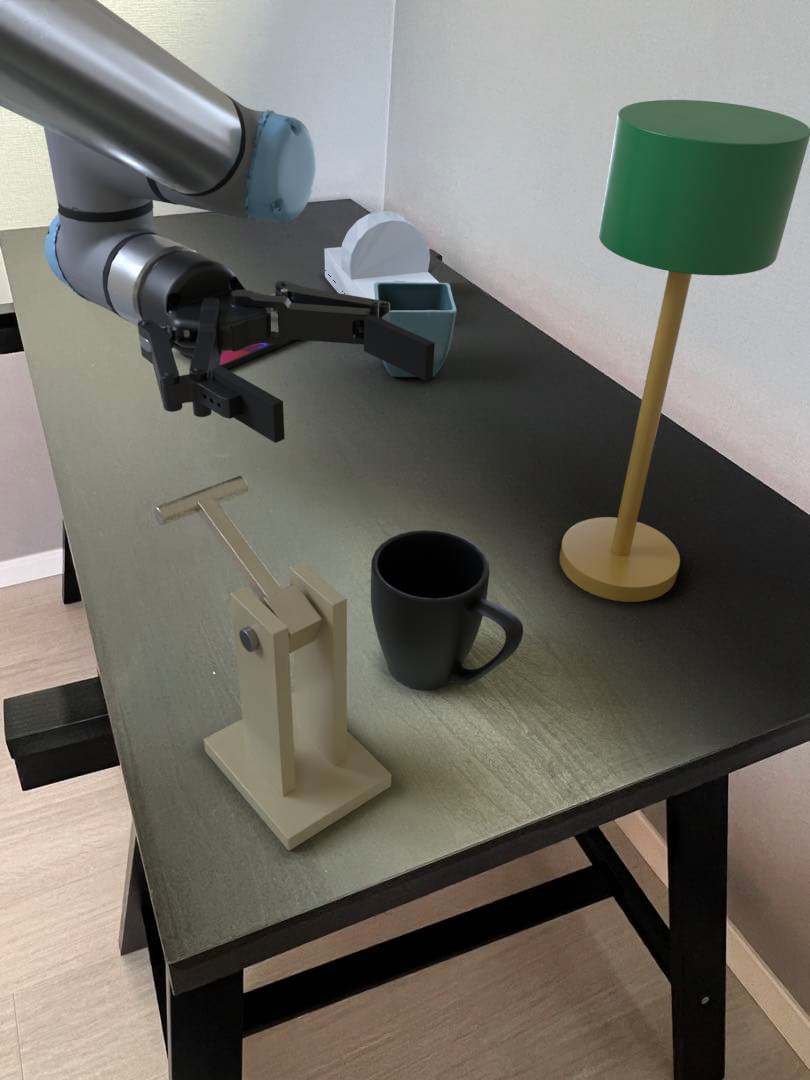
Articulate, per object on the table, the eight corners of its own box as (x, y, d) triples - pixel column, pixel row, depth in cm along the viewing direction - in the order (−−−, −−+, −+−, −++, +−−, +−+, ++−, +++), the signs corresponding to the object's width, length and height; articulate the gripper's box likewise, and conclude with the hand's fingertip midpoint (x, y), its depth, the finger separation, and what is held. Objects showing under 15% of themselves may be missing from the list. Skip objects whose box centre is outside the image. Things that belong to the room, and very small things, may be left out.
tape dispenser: (450, 323, 122) (456, 237, 115) (369, 333, 119) (370, 245, 112) (397, 269, 137) (399, 190, 130) (323, 276, 133) (322, 195, 127)
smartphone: (175, 346, 111) (269, 310, 121) (176, 353, 112) (269, 316, 121) (218, 367, 107) (312, 327, 117) (219, 374, 108) (312, 334, 117)
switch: (152, 521, 58) (153, 496, 56) (236, 489, 61) (240, 465, 59) (255, 670, 54) (261, 648, 52) (341, 628, 57) (349, 605, 55)
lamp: (526, 580, 80) (592, 124, 58) (575, 511, 88) (648, 92, 67) (666, 628, 75) (792, 154, 54) (703, 550, 84) (825, 116, 63)
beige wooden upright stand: (204, 751, 63) (182, 578, 55) (303, 698, 68) (296, 530, 59) (288, 851, 57) (278, 675, 49) (391, 786, 62) (398, 613, 53)
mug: (463, 752, 64) (475, 648, 58) (346, 661, 71) (346, 560, 65) (540, 693, 69) (557, 592, 63) (423, 613, 76) (429, 515, 70)
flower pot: (372, 352, 114) (373, 280, 109) (444, 353, 115) (449, 281, 110) (374, 385, 107) (376, 310, 102) (451, 386, 108) (457, 311, 102)
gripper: (301, 303, 85) (478, 386, 73) (40, 385, 70) (208, 505, 58) (299, 219, 80) (487, 292, 68) (20, 287, 66) (197, 395, 54)
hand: (359, 390), depth 63 cm, fingers open, 13 cm apart
